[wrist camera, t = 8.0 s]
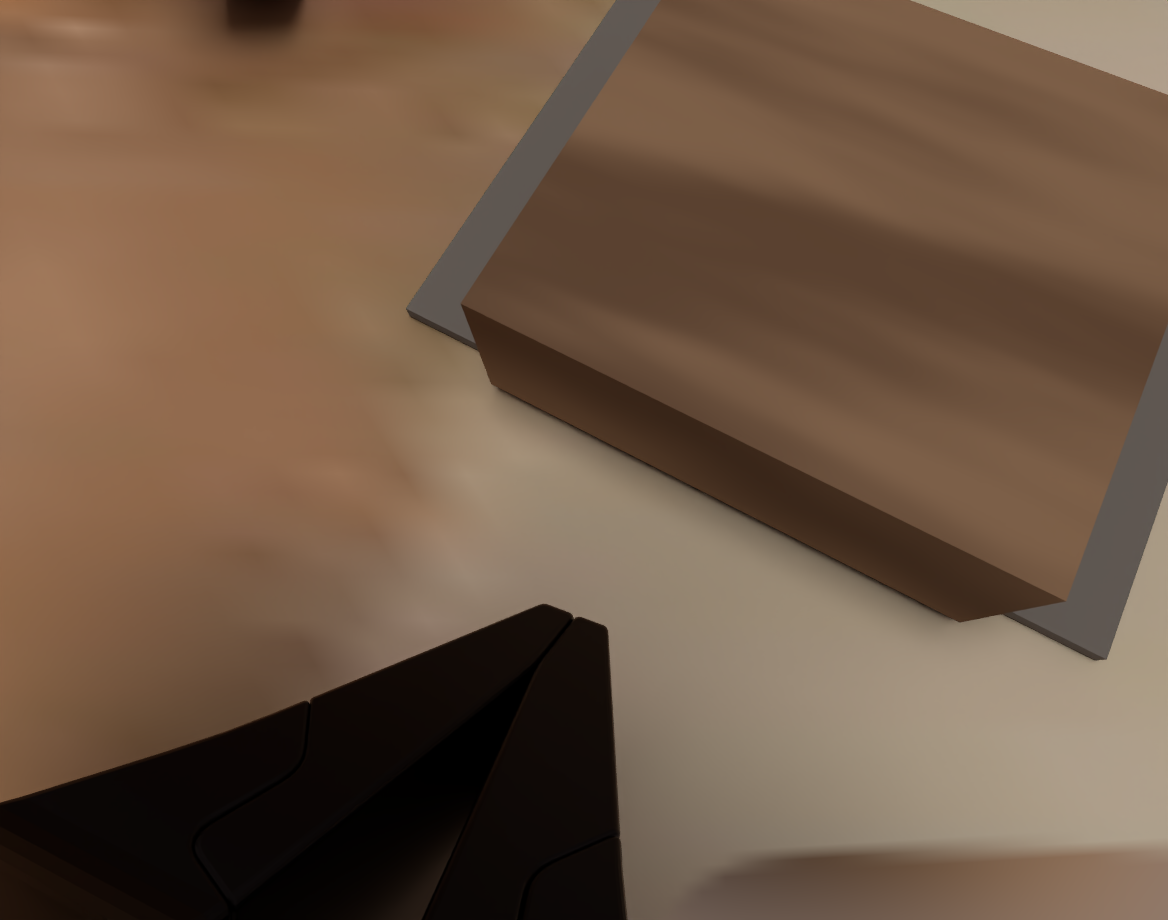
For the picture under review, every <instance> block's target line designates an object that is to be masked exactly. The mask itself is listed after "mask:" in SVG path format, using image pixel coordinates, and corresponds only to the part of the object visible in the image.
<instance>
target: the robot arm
mask: <svg viewBox="0 0 1168 920" xmlns="http://www.w3.org/2000/svg"><path fill="white" fill-rule="evenodd" d="M619 837H620V824H619V807H618V790H617V773H616V756H615V740H614V723H613V706H612V689H611V672H610V655H609V638H608V630H607V628H606V627H605V626H604V625H601V624H598V623H596V622H593V621H590V620H588V619H585V618H582V617H576V618H575V619H574V618H573V615H572V614H571V613H569V612H566V611H564V610H561V609H558V608H556V607H553V606H550V605H548V604H541V605H538V606H535V607H533V608H530V609H528V610H525V611H523V612H521V613H518V614H516V615H513V616H511V617H508V618H506V619H503V620H501V621H499V622H496V623H494V624H491V625H489V626H486V627H484V628H481V629H479V630H477V631H474V632H472V633H469V634H467V635H464V636H462V637H459V638H457V639H455V640H452V641H450V642H447V643H445V644H442V645H440V646H438V647H435V648H433V649H430V650H428V651H425V652H423V653H420V654H418V655H416V656H413V657H411V658H408V659H406V660H403V661H401V662H398V663H396V664H394V665H391V666H389V667H386V668H384V669H381V670H379V671H376V672H374V673H372V674H369V675H367V676H364V677H362V678H359V679H357V680H354V681H352V682H350V683H347V684H345V685H342V686H340V687H337V688H335V689H332V690H330V691H328V692H325V693H323V694H320V695H318V696H315V697H313V698H312V699H311V700H310V704H309V702H308V701H303V702H300V703H298V704H295V705H293V706H290V707H288V708H285V709H283V710H281V711H278V712H276V713H273V714H271V715H268V716H265V717H263V718H260V719H257V720H255V721H252V722H250V723H247V724H244V725H242V726H239V727H236V728H234V729H231V730H229V731H226V732H223V733H220V734H217V735H214V736H211V737H208V738H205V739H202V740H199V741H196V742H193V743H190V744H187V745H184V746H181V747H178V748H175V749H172V750H169V751H166V752H163V753H160V754H157V755H154V756H150V757H147V758H144V759H141V760H138V761H134V762H131V763H128V764H125V765H122V766H118V767H115V768H112V769H109V770H106V771H102V772H99V773H96V774H93V775H90V776H86V777H83V778H80V779H77V780H74V781H70V782H67V783H64V784H61V785H58V786H54V787H51V788H48V789H45V790H42V791H38V792H35V793H32V794H29V795H26V796H22V797H19V798H15V799H11V800H8V801H4V802H1V803H0V920H627V910H626V900H625V890H624V880H623V868H622V851H621V841H620V839H619Z"/></svg>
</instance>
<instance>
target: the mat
mask: <svg viewBox="0 0 1168 920" xmlns="http://www.w3.org/2000/svg"><path fill="white" fill-rule="evenodd" d="M659 2H660V0H616V1H615V3H614V4H613V5H612V7H611V8H610V10H609V11H608V13H607V14H606V16H605V17H604V19H603V20H602V22H601V23H600V25H599V26H598V27H597V29H596V30H595V32H594V33H593V35H592V36H591V38H590V39H589V41H588V42H587V44H586V45H585V47H584V48H583V49H582V51H581V52H580V54H579V55H578V57H577V58H576V60H575V61H574V63H573V64H572V66H571V67H570V69H569V70H568V71H567V73H566V74H565V76H564V77H563V79H562V80H561V82H560V83H559V85H558V86H557V88H556V89H555V91H554V92H553V93H552V95H551V96H550V98H549V99H548V101H547V102H546V104H545V105H544V107H543V108H542V110H541V111H540V113H539V114H538V115H537V117H536V118H535V120H534V121H533V123H532V124H531V126H530V127H529V129H528V130H527V132H526V133H525V135H524V136H523V138H522V139H521V140H520V142H519V143H518V145H517V146H516V148H515V149H514V151H513V152H512V154H511V155H510V157H509V158H508V160H507V161H506V162H505V164H504V165H503V167H502V168H501V170H500V171H499V173H498V174H497V176H496V177H495V179H494V180H493V182H492V183H491V184H490V186H489V187H488V189H487V190H486V192H485V193H484V195H483V196H482V198H481V199H480V201H479V202H478V204H477V205H476V206H475V208H474V209H473V211H472V212H471V214H470V215H469V217H468V218H467V220H466V221H465V223H464V224H463V226H462V227H461V228H460V230H459V231H458V233H457V234H456V236H455V237H454V239H453V240H452V242H451V243H450V245H449V246H448V248H447V249H446V250H445V252H444V253H443V255H442V256H441V258H440V259H439V261H438V262H437V264H436V265H435V267H434V268H433V270H432V271H431V272H430V274H429V275H428V277H427V278H426V280H425V281H424V283H423V284H422V286H421V287H420V289H419V290H418V292H417V293H416V294H415V296H414V297H413V299H412V300H411V302H410V303H409V305H408V306H407V308H406V310H407V312H408V313H409V315H410V316H411V317H413V318H415V319H417V320H419V321H421V322H423V323H425V324H427V325H429V326H431V327H433V328H435V329H437V330H439V331H441V332H443V333H445V334H447V335H449V336H451V337H453V338H455V339H457V340H459V341H461V342H463V343H465V344H467V345H469V346H471V347H473V348H475V349H477V350H478V348H477V345H476V343H475V340H474V338H473V335H472V332H471V330H470V327H469V325H468V322H467V319H466V317H465V314H464V311H463V309H462V306H461V304H460V303H461V302H462V300H463V299H464V297H465V296H466V294H467V293H468V291H469V290H470V288H471V287H472V285H473V284H474V282H475V281H476V279H477V278H478V276H479V275H480V273H481V272H482V270H483V268H484V267H485V265H486V264H487V262H488V261H489V259H490V258H491V256H492V255H493V253H494V252H495V250H496V249H497V247H498V246H499V244H500V243H501V241H502V240H503V238H504V237H505V235H506V234H507V232H508V231H509V229H510V228H511V226H512V225H513V223H514V222H515V220H516V219H517V217H518V215H519V214H520V212H521V211H522V209H523V208H524V206H525V205H526V203H527V202H528V200H529V199H530V197H531V196H532V194H533V193H534V191H535V190H536V188H537V187H538V185H539V184H540V182H541V181H542V179H543V178H544V176H545V175H546V173H547V172H548V170H549V169H550V167H551V165H552V164H553V162H554V161H555V159H556V158H557V156H558V155H559V153H560V152H561V150H562V149H563V147H564V146H565V144H566V143H567V141H568V140H569V138H570V137H571V135H572V134H573V132H574V131H575V129H576V128H577V126H578V125H579V123H580V122H581V120H582V119H583V117H584V115H585V114H586V112H587V111H588V109H589V108H590V106H591V105H592V103H593V102H594V100H595V99H596V97H597V96H598V94H599V93H600V91H601V90H602V88H603V87H604V85H605V84H606V82H607V81H608V79H609V78H610V76H611V75H612V73H613V72H614V70H615V69H616V67H617V66H618V64H619V62H620V61H621V59H622V58H623V56H624V55H625V53H626V52H627V50H628V49H629V47H630V46H631V44H632V43H633V41H634V40H635V38H636V37H637V35H638V34H639V32H640V31H641V29H642V28H643V26H644V25H645V23H646V22H647V20H648V19H649V17H650V16H651V14H652V12H653V11H654V9H655V8H656V6H657V5H658V3H659ZM1167 483H1168V325H1167V327H1166V330H1165V333H1164V336H1163V338H1162V341H1161V344H1160V346H1159V349H1158V352H1157V355H1156V357H1155V360H1154V363H1153V366H1152V368H1151V371H1150V374H1149V376H1148V379H1147V382H1146V385H1145V387H1144V390H1143V393H1142V396H1141V398H1140V401H1139V404H1138V407H1137V409H1136V412H1135V415H1134V417H1133V420H1132V423H1131V426H1130V428H1129V431H1128V434H1127V437H1126V439H1125V442H1124V445H1123V448H1122V450H1121V453H1120V456H1119V458H1118V461H1117V464H1116V467H1115V469H1114V472H1113V475H1112V478H1111V480H1110V483H1109V486H1108V488H1107V491H1106V494H1105V497H1104V499H1103V502H1102V505H1101V508H1100V510H1099V513H1098V516H1097V519H1096V521H1095V524H1094V527H1093V529H1092V532H1091V535H1090V538H1089V540H1088V543H1087V546H1086V549H1085V551H1084V554H1083V557H1082V560H1081V562H1080V565H1079V568H1078V570H1077V573H1076V576H1075V579H1074V581H1073V584H1072V587H1071V590H1070V592H1069V595H1068V598H1067V601H1066V602H1060V603H1055V604H1050V605H1045V606H1040V607H1035V608H1030V609H1025V610H1020V611H1015V612H1010V613H1005V614H1004V615H1006V616H1008V617H1010V618H1012V619H1014V620H1016V621H1018V622H1020V623H1022V624H1024V625H1026V626H1028V627H1030V628H1032V629H1034V630H1036V631H1038V632H1040V633H1042V634H1044V635H1046V636H1048V637H1050V638H1052V639H1054V640H1056V641H1058V642H1060V643H1062V644H1064V645H1066V646H1068V647H1070V648H1072V649H1074V650H1076V651H1078V652H1080V653H1082V654H1084V655H1086V656H1088V657H1090V658H1092V659H1094V660H1106V659H1107V657H1108V654H1109V651H1110V648H1111V645H1112V642H1113V639H1114V636H1115V634H1116V631H1117V628H1118V625H1119V622H1120V619H1121V616H1122V613H1123V610H1124V607H1125V604H1126V602H1127V599H1128V596H1129V593H1130V590H1131V587H1132V584H1133V581H1134V578H1135V575H1136V573H1137V570H1138V567H1139V564H1140V561H1141V558H1142V555H1143V552H1144V549H1145V546H1146V544H1147V541H1148V538H1149V535H1150V532H1151V529H1152V526H1153V523H1154V520H1155V517H1156V514H1157V512H1158V509H1159V506H1160V503H1161V500H1162V497H1163V494H1164V491H1165V488H1166V485H1167Z"/></svg>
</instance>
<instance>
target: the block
mask: <svg viewBox="0 0 1168 920" xmlns="http://www.w3.org/2000/svg"><path fill="white" fill-rule="evenodd" d="M460 304H461V306H462V309H463V311H464V314H465V317H466V319H467V322H468V325H469V327H470V330H471V332H472V335H473V338H474V340H475V343H476V345H477V348H478V351H479V353H480V356H481V358H482V361H483V364H484V366H485V369H486V371H487V374H488V377H489V379H490V382H491V384H493V385H494V386H496V387H498V388H500V389H502V390H504V391H506V392H508V393H510V394H512V395H514V396H516V397H518V398H520V399H522V400H524V401H526V402H528V403H530V404H532V405H534V406H536V407H538V408H540V409H542V410H544V411H546V412H548V413H549V414H551V415H553V416H555V417H557V418H559V419H561V420H563V421H565V422H567V423H569V424H571V425H573V426H575V427H577V428H579V429H581V430H583V431H585V432H587V433H589V434H591V435H593V436H595V437H597V438H599V439H601V440H603V441H604V442H606V443H608V444H610V445H612V446H614V447H616V448H618V449H620V450H622V451H624V452H626V453H628V454H630V455H632V456H634V457H636V458H638V459H640V460H642V461H644V462H646V463H648V464H650V465H652V466H654V467H656V468H658V469H660V470H661V471H663V472H665V473H667V474H669V475H671V476H673V477H675V478H677V479H679V480H681V481H683V482H685V483H687V484H689V485H691V486H693V487H695V488H697V489H699V490H701V491H703V492H705V493H707V494H709V495H711V496H713V497H715V498H716V499H718V500H720V501H722V502H724V503H726V504H728V505H730V506H732V507H734V508H736V509H738V510H740V511H742V512H744V513H746V514H748V515H750V516H752V517H754V518H756V519H758V520H760V521H762V522H764V523H766V524H768V525H770V526H771V527H773V528H775V529H777V530H779V531H781V532H783V533H785V534H787V535H789V536H791V537H793V538H795V539H797V540H799V541H801V542H803V543H805V544H807V545H809V546H811V547H813V548H815V549H817V550H819V551H821V552H823V553H825V554H826V555H828V556H830V557H832V558H834V559H836V560H838V561H840V562H842V563H844V564H846V565H848V566H850V567H852V568H854V569H856V570H858V571H860V572H862V573H864V574H866V575H868V576H870V577H872V578H874V579H876V580H878V581H880V582H882V583H883V584H885V585H887V586H889V587H891V588H893V589H895V590H897V591H899V592H901V593H903V594H905V595H907V596H909V597H911V598H913V599H915V600H917V601H919V602H921V603H923V604H925V605H927V606H929V607H931V608H933V609H935V610H937V611H938V612H940V613H942V614H944V615H946V616H948V617H950V618H952V619H954V620H956V621H958V622H964V621H969V620H974V619H979V618H984V617H989V616H994V615H1000V614H1005V613H1010V612H1015V611H1020V610H1025V609H1030V608H1035V607H1040V606H1045V605H1050V604H1055V603H1060V602H1066V601H1067V598H1068V595H1069V592H1070V590H1071V587H1072V584H1073V581H1074V579H1075V576H1076V573H1077V570H1078V568H1079V565H1080V562H1081V560H1082V557H1083V554H1084V551H1085V549H1086V546H1087V543H1088V540H1089V538H1090V535H1091V532H1092V529H1093V527H1094V524H1095V521H1096V519H1097V516H1098V513H1099V510H1100V508H1101V505H1102V502H1103V499H1104V497H1105V494H1106V491H1107V488H1108V486H1109V483H1110V480H1111V478H1112V475H1113V472H1114V469H1115V467H1116V464H1117V461H1118V458H1119V456H1120V453H1121V450H1122V448H1123V445H1124V442H1125V439H1126V437H1127V434H1128V431H1129V428H1130V426H1131V423H1132V420H1133V417H1134V415H1135V412H1136V409H1137V407H1138V404H1139V401H1140V398H1141V396H1142V393H1143V390H1144V387H1145V385H1146V382H1147V379H1148V376H1149V374H1150V371H1151V368H1152V366H1153V363H1154V360H1155V357H1156V355H1157V352H1158V349H1159V346H1160V344H1161V341H1162V338H1163V336H1164V333H1165V330H1166V327H1167V325H1168V95H1166V94H1164V93H1161V92H1158V91H1156V90H1153V89H1150V88H1147V87H1145V86H1142V85H1139V84H1137V83H1134V82H1131V81H1128V80H1126V79H1123V78H1120V77H1117V76H1115V75H1112V74H1109V73H1107V72H1104V71H1101V70H1098V69H1096V68H1093V67H1090V66H1087V65H1085V64H1082V63H1079V62H1077V61H1074V60H1071V59H1068V58H1066V57H1063V56H1060V55H1058V54H1055V53H1052V52H1049V51H1047V50H1044V49H1041V48H1038V47H1036V46H1033V45H1030V44H1028V43H1025V42H1022V41H1019V40H1017V39H1014V38H1011V37H1009V36H1006V35H1003V34H1000V33H998V32H995V31H992V30H989V29H987V28H984V27H981V26H979V25H976V24H973V23H970V22H968V21H965V20H962V19H959V18H957V17H954V16H951V15H949V14H946V13H943V12H940V11H938V10H935V9H932V8H930V7H927V6H924V5H921V4H919V3H916V2H913V1H910V0H660V2H659V3H658V5H657V6H656V8H655V9H654V11H653V12H652V14H651V16H650V17H649V19H648V20H647V22H646V23H645V25H644V26H643V28H642V29H641V31H640V32H639V34H638V35H637V37H636V38H635V40H634V41H633V43H632V44H631V46H630V47H629V49H628V50H627V52H626V53H625V55H624V56H623V58H622V59H621V61H620V62H619V64H618V66H617V67H616V69H615V70H614V72H613V73H612V75H611V76H610V78H609V79H608V81H607V82H606V84H605V85H604V87H603V88H602V90H601V91H600V93H599V94H598V96H597V97H596V99H595V100H594V102H593V103H592V105H591V106H590V108H589V109H588V111H587V112H586V114H585V115H584V117H583V119H582V120H581V122H580V123H579V125H578V126H577V128H576V129H575V131H574V132H573V134H572V135H571V137H570V138H569V140H568V141H567V143H566V144H565V146H564V147H563V149H562V150H561V152H560V153H559V155H558V156H557V158H556V159H555V161H554V162H553V164H552V165H551V167H550V169H549V170H548V172H547V173H546V175H545V176H544V178H543V179H542V181H541V182H540V184H539V185H538V187H537V188H536V190H535V191H534V193H533V194H532V196H531V197H530V199H529V200H528V202H527V203H526V205H525V206H524V208H523V209H522V211H521V212H520V214H519V215H518V217H517V219H516V220H515V222H514V223H513V225H512V226H511V228H510V229H509V231H508V232H507V234H506V235H505V237H504V238H503V240H502V241H501V243H500V244H499V246H498V247H497V249H496V250H495V252H494V253H493V255H492V256H491V258H490V259H489V261H488V262H487V264H486V265H485V267H484V268H483V270H482V272H481V273H480V275H479V276H478V278H477V279H476V281H475V282H474V284H473V285H472V287H471V288H470V290H469V291H468V293H467V294H466V296H465V297H464V299H463V300H462V302H461V303H460Z"/></svg>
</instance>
